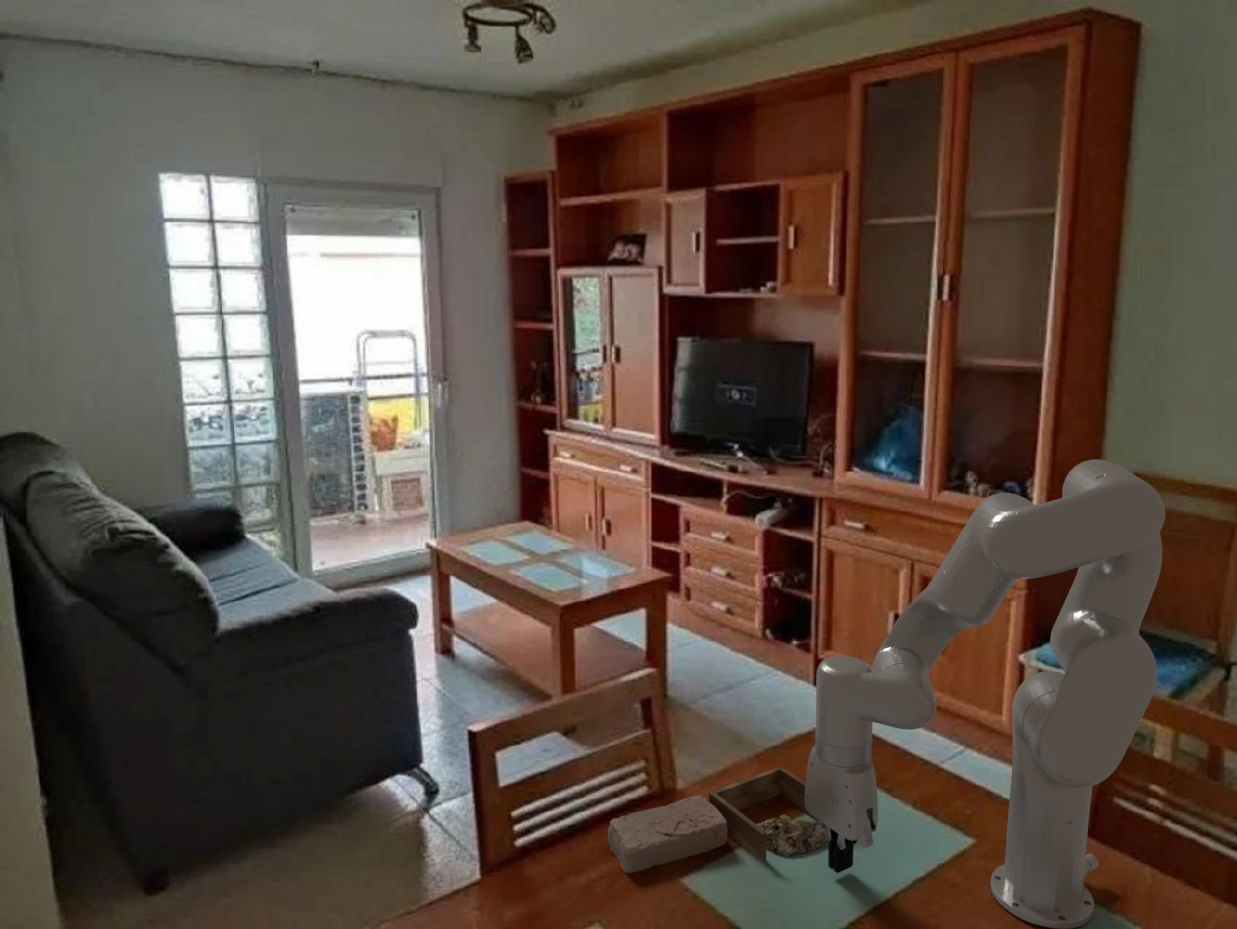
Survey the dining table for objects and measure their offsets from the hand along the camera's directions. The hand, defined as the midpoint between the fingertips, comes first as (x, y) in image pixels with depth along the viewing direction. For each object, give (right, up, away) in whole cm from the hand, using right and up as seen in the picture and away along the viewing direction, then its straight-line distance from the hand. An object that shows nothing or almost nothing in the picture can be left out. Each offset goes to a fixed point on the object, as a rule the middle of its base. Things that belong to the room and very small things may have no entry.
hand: (840, 866), depth 127 cm
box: (-7, +1, +12) cm, 14 cm away
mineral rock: (-5, 0, +8) cm, 10 cm away
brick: (-24, -1, +8) cm, 25 cm away
